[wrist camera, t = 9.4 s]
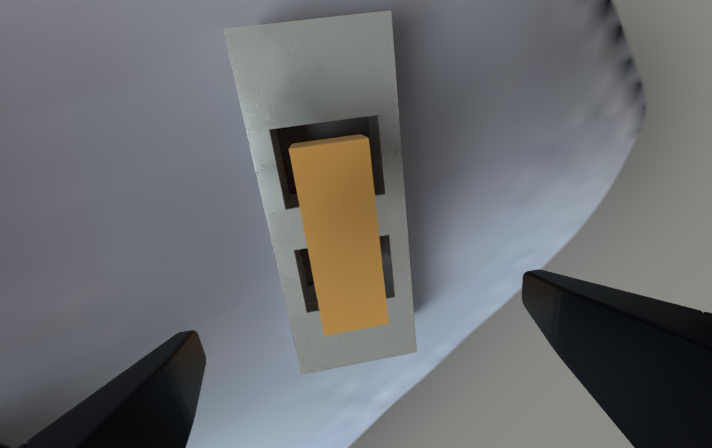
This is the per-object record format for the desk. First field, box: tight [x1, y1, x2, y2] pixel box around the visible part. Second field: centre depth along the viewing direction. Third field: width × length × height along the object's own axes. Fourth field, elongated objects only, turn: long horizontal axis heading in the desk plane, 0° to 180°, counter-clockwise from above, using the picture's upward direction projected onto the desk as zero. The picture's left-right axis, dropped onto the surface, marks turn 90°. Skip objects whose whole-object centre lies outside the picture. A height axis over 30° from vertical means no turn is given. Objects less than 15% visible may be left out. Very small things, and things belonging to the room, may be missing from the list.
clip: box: [289, 134, 389, 336], centre depth 16 cm, size 8×3×6 cm, turn 7°
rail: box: [223, 10, 417, 374], centre depth 18 cm, size 18×7×3 cm, turn 7°
